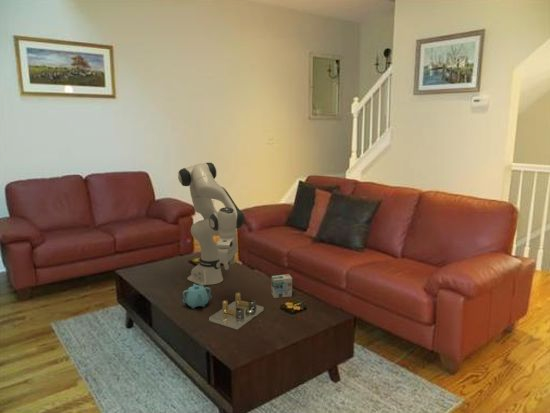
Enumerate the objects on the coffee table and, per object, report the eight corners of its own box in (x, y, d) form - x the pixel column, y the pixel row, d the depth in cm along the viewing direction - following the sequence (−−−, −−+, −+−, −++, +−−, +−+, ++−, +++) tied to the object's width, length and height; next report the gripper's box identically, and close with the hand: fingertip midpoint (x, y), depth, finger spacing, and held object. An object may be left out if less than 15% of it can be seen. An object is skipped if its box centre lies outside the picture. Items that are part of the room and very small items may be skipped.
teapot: (196, 298, 232) (194, 279, 230) (217, 303, 225) (215, 283, 223) (180, 308, 221) (178, 288, 219) (202, 312, 214) (200, 292, 212)
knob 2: (233, 304, 219) (233, 294, 217) (238, 301, 222) (238, 291, 221) (253, 309, 212) (253, 299, 211) (257, 306, 216) (257, 296, 215)
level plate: (209, 321, 205) (208, 314, 205) (236, 303, 225) (236, 297, 224) (238, 329, 197) (238, 322, 196) (264, 310, 216) (264, 304, 215)
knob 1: (220, 312, 209) (220, 302, 208) (225, 309, 213) (225, 299, 212) (240, 318, 203) (240, 307, 202) (245, 314, 207) (245, 304, 205)
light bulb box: (274, 298, 230) (274, 280, 228) (271, 293, 237) (270, 275, 235) (292, 296, 233) (292, 278, 231) (289, 291, 240) (289, 273, 237)
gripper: (228, 234, 221) (230, 259, 224) (215, 245, 201) (217, 272, 204) (240, 234, 220) (241, 259, 222) (228, 246, 200) (229, 273, 203)
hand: (229, 266), depth 213 cm, fingers open, 8 cm apart
